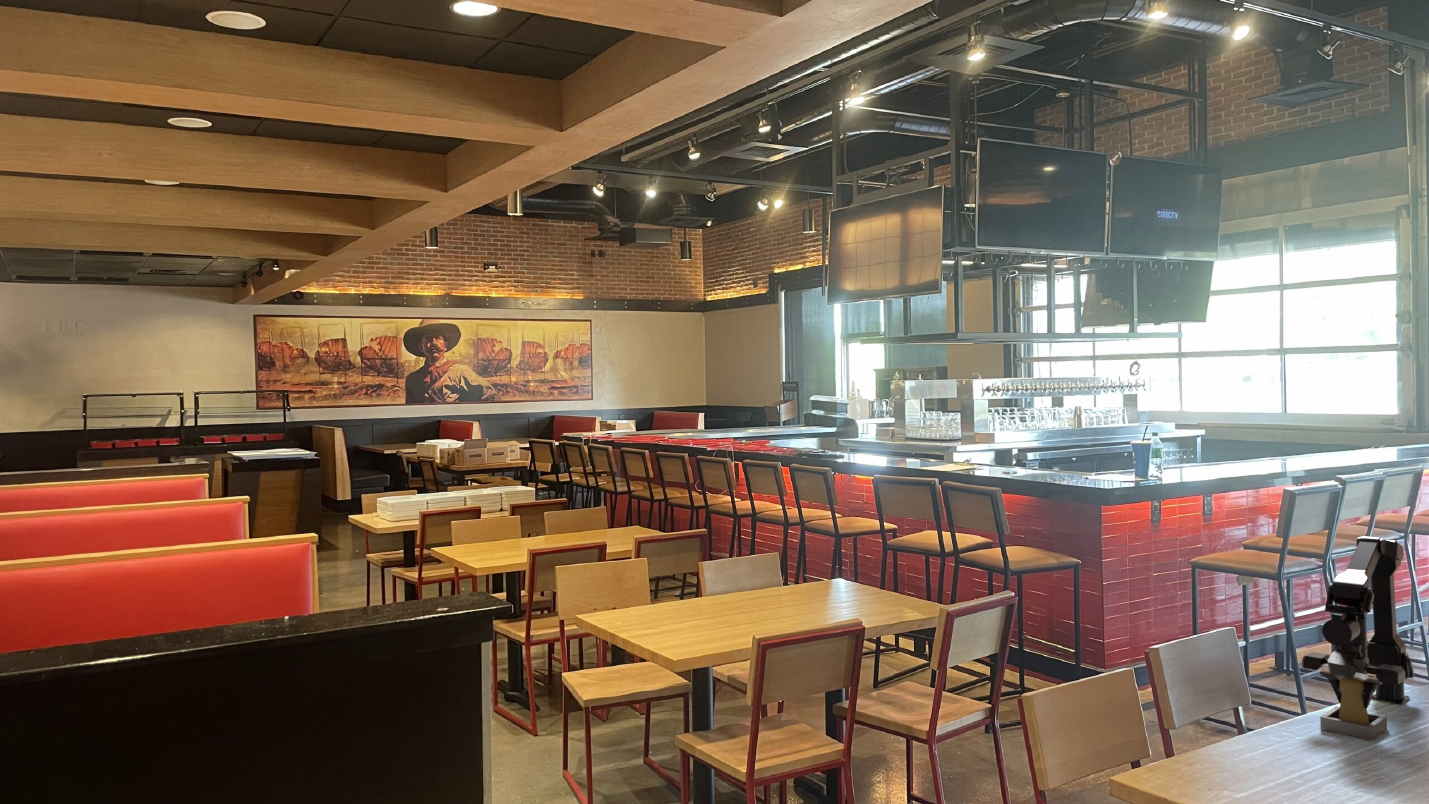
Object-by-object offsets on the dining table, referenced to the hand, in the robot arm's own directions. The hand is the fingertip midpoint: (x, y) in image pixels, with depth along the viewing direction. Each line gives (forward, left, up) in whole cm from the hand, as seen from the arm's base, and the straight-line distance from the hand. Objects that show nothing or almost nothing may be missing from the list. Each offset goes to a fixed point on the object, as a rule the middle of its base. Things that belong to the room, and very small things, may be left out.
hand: (1353, 705), depth 217 cm
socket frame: (0, 0, -5) cm, 5 cm away
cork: (0, 0, -5) cm, 5 cm away
